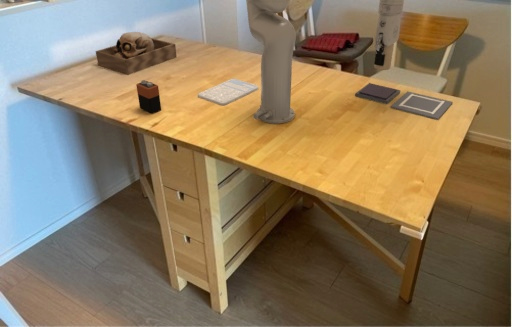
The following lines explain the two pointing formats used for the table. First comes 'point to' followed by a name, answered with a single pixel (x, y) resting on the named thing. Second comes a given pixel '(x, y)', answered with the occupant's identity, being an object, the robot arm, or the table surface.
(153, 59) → the wooden tray
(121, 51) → the brown skull
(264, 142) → the table surface
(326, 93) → the table surface
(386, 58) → the candle
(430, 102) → the marked board
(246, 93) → the calculator
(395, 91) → the ink pad
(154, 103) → the battery
